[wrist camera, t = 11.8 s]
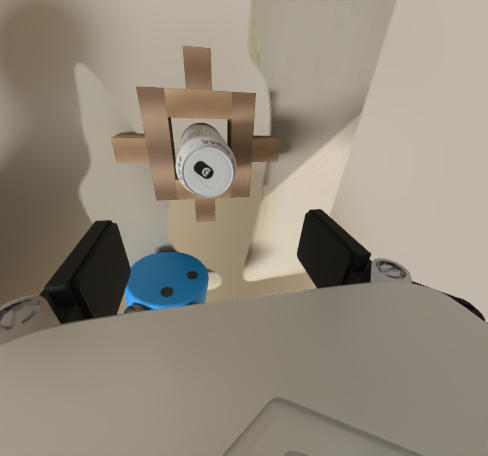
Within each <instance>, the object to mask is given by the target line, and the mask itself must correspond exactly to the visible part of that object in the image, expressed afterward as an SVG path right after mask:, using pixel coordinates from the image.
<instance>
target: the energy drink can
mask: <svg viewBox="0 0 488 456" xmlns="http://www.w3.org/2000/svg"><path fill="white" fill-rule="evenodd" d="M236 171H237V165H236V159H235V157H234V154H233V152H232V151H231V149H230V148H229V146H228V145H227V144H226V142H225V141H224V140H223V138H222V137H221V136H220V134H219V133H218V131H217V130H216V129H215V128H213V127H212V126H210V125H208V124H205V123H196V124H193V125H191V126H189V127H188V128H187V129H186V130H185V131H184V133H183V135H182V138H181V142H180V146H179V150H178V155H177V158H176V173H177V176H178V178H179V180H180V182H181V184H182V185H183V186H184V187H185V188H186V189H187V190H188V191H190V192H192V193H193V194H196V195H197V196H200V197H205V198H212V197H216V196H218V195H221V194H222V193H224V192H225V191H226V190H227V189H228V188H229V187H230V185H231V184H232V183H233V181H234V178H235V176H236Z"/></svg>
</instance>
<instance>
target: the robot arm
mask: <svg viewBox="0 0 488 456" xmlns="http://www.w3.org/2000/svg"><path fill="white" fill-rule="evenodd" d="M370 256H371V253H370V252H368V251H367V250H366V249H365V248H364V247H363V246H362V245H361V244H359V243H358V242H357V241H356V240H355V239H354V238H353V237H351V236H350V235H349V234H348V233H347V232H346V231H345V230H344V229H343V228H342V227H340V226H339V225H338V224H337V223H336V222H335V221H334V220H333V219H331V218H330V217H329V216H328V215H327V214H326V213H325V212H324V211H323V210H321V209H315V210H309V212H308V213H306V214H305V219H304V223H303V228H302V232H301V237H300V241H299V246H298V251H297V257H298V259H299V261H300V262H301V264H302V265H303V267H304V269H305V270H306V272H307V273H308V275H309V276H310V278H311V279H312V281H313V283H314V284H315V286H316V287H317V289H309V290H301V291H293V292H285V293H277V294H270V295H263V296H254V297H246V298H239V299H232V300H223V301H216V302H208V303H200V304H193V305H185V306H178V307H170V308H163V309H155V310H148V311H140V312H133V313H126V314H118V315H117V312H118V309H119V306H120V303H121V300H122V297H123V295H124V292H125V289H126V286H127V283H128V280H129V277H130V274H131V269H130V265H129V262H128V258H127V255H126V252H125V248H124V245H123V242H122V239H121V235H120V232H119V229H118V226H117V224H116V223H113V222H112V221H111V220H105V221H95V222H94V224H93V225H92V226H91V228H90V229H89V230H88V231H87V233H86V234H85V235H84V237H83V238H82V239H81V240H80V242H79V243H78V244H77V246H76V247H75V248H74V249H73V251H72V252H71V253H70V255H69V256H68V257H67V259H66V260H65V261H64V262H63V264H62V265H61V266H60V268H59V269H58V270H57V271H56V273H55V274H54V275H53V277H52V278H51V279H50V280H49V282H48V283H47V284H46V286H45V287H44V288H45V289H44V290H43V291H42V293H41V294H40V295H39V296H38V295H35V296H26V297H22V298H19V299H16V300H13V301H11V302H9V303H7V304H5V305H4V306H1V307H0V456H488V323H487V322H485V318H484V317H483V315H482V314H481V313H480V312H479V311H478V310H477V309H476V308H475V307H474V306H473V305H471V304H470V303H469V302H467V301H465V300H463V299H461V298H457V297H454V296H451V295H449V294H446V293H443V292H440V291H438V290H435V289H432V288H429V287H427V286H424V285H421V284H418V283H416V282H413V281H412V280H411V275H410V273H409V272H408V270H407V269H406V268H404V267H403V266H402V265H400V264H398V263H396V262H394V261H391V260H387V259H381V258H379V259H375V260H373V261H371V260H370V259H369V258H370Z"/></svg>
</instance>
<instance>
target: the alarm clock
mask: <svg viewBox="0 0 488 456" xmlns="http://www.w3.org/2000/svg"><path fill="white" fill-rule="evenodd" d="M130 269H131V274H130V277H129V280H128V283H127V286H126V289H125V295H126V305H127V308H126V310H125V311H124V313H123V314H126V313H133V312H140V311H148V310H155V309H163V308H170V307H178V306H185V305H193V304H200V303H205V299H206V293H207V287H208V280H209V277H208V272H207V269H206V268H205V266H204V265H203V264H202V263H201V262H200V261H199V260H198V259H196V258H194V257H193V256H190V255H188V254H184V253H179V252H161V253H155V254H152V255H149V256H146V257H144V258H142V259H140V260H139V261H137V262H136V263H135V264H134V265H133V266H132V267H131V268H130Z"/></svg>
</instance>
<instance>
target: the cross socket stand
mask: <svg viewBox="0 0 488 456" xmlns="http://www.w3.org/2000/svg"><path fill="white" fill-rule="evenodd" d="M183 55H184V68H185V80H186V89H170V88H154V87H136V89H137V94H138V100H139V105H140V110H141V116H142V122H143V127H144V133H145V134H133V133H119V134H117V135H116V136H114V137H112V138H111V141H112V145H113V149H114V153H115V157H116V160H117V163H141V162H150V167H151V172H152V178H153V183H154V189H155V195H156V200H179V199H195V206H196V220H197V222H202V221H215V198H231V197H249V193H250V178H251V162H277V161H278V153H279V145H280V140H278V139H276V138H274V137H273V136H253V129H254V111H255V95H256V93H241V92H224V91H212V85H211V49H210V48H202V47H192V46H183ZM171 117H182V118H212V119H228V143H227V145H228V146H229V148H230V149H231V151H232V152H233V154H234V157H235V159H236V165H237V171H236V176H235V178H234V181H233V183H232V184H231V185H230V187H229V188H228V189H227V190H226V191H225V192H224V193H222V194H221V195H218V196H216V197H212V198H205V197H200V196H197V195H196V194H193V193H192V192H190V191H188V190H187V189H186V188H185V187H184V186H183V185H182V184H181V182H180V180H179V178H178V176H177V173H176V159H175V150H174V142H173V133H172V125H171Z"/></svg>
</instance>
